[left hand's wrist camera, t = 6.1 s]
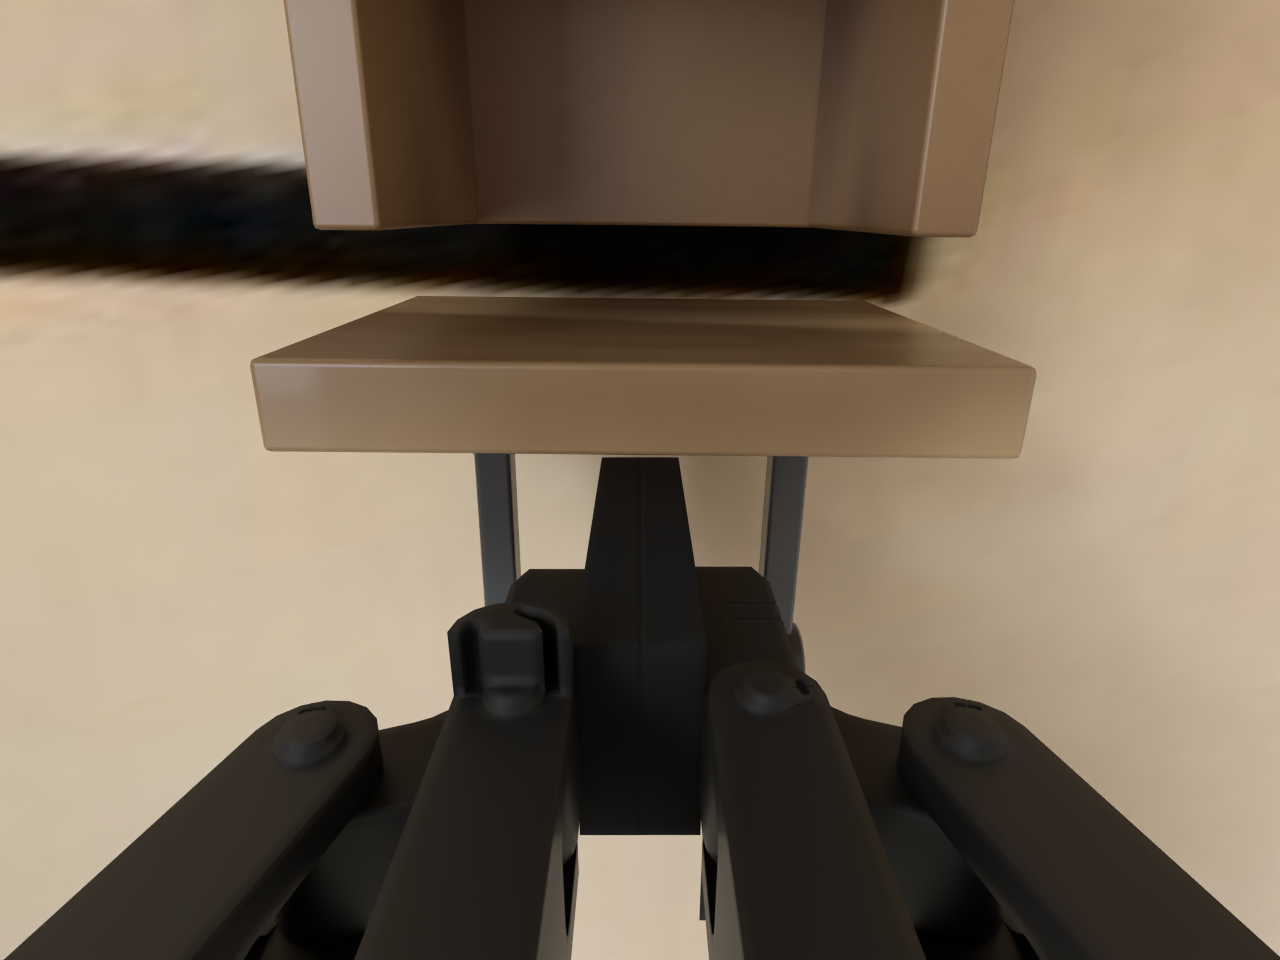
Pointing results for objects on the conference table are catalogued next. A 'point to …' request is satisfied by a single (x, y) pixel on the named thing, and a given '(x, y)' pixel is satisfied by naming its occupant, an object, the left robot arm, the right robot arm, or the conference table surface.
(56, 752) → the conference table surface
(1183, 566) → the conference table surface
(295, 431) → the drawer
